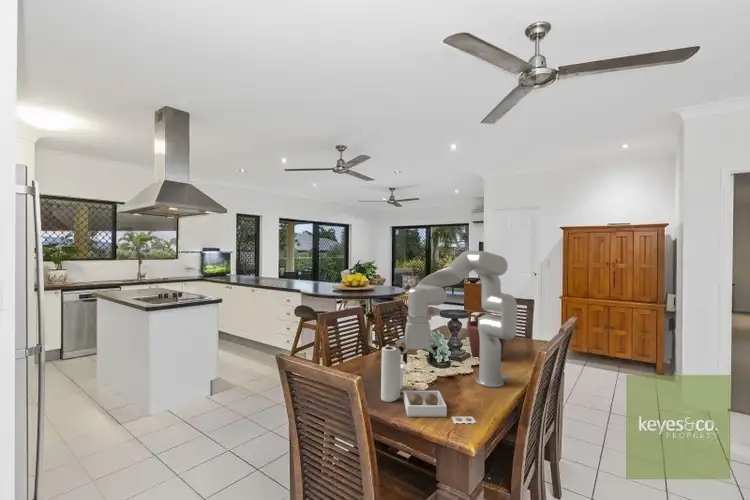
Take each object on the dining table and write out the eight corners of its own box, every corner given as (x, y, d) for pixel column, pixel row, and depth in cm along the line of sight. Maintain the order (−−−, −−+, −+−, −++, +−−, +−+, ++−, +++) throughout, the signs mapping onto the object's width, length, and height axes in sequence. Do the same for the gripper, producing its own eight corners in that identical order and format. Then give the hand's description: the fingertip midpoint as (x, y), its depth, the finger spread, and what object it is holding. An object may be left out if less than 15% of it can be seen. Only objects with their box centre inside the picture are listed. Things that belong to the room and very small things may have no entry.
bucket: (465, 349, 227) (466, 308, 227) (502, 351, 224) (503, 310, 224) (469, 362, 203) (470, 316, 202) (511, 364, 200) (512, 318, 199)
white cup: (394, 383, 171) (394, 361, 171) (407, 388, 165) (407, 366, 165) (382, 387, 165) (382, 365, 165) (395, 393, 160) (395, 370, 159)
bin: (438, 400, 153) (439, 390, 153) (446, 417, 138) (446, 406, 138) (403, 400, 153) (403, 390, 152) (407, 416, 138) (407, 406, 138)
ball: (436, 403, 148) (436, 391, 148) (439, 409, 143) (439, 396, 143) (424, 403, 148) (424, 391, 148) (426, 409, 143) (426, 396, 143)
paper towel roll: (378, 400, 152) (379, 348, 151) (383, 395, 157) (384, 345, 157) (395, 403, 149) (396, 351, 149) (400, 398, 155) (400, 347, 154)
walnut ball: (421, 403, 148) (421, 391, 148) (423, 409, 143) (423, 396, 143) (409, 404, 148) (409, 391, 148) (410, 409, 143) (410, 396, 143)
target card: (472, 417, 138) (472, 416, 138) (476, 423, 133) (476, 422, 133) (451, 417, 138) (451, 416, 138) (454, 423, 133) (454, 422, 133)
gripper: (438, 317, 149) (438, 359, 149) (395, 317, 148) (395, 359, 149) (442, 321, 141) (441, 365, 142) (396, 321, 141) (396, 366, 141)
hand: (418, 362), depth 145 cm, fingers open, 9 cm apart
